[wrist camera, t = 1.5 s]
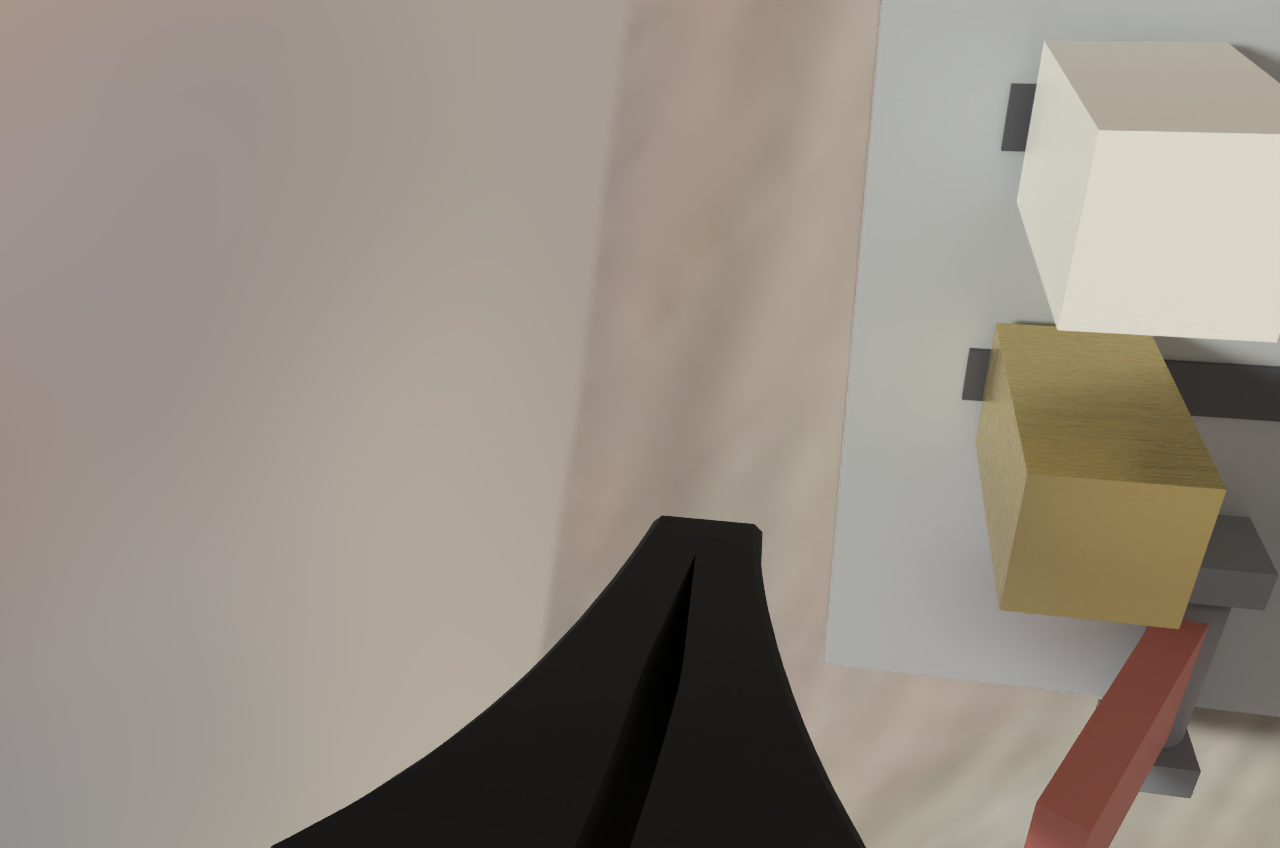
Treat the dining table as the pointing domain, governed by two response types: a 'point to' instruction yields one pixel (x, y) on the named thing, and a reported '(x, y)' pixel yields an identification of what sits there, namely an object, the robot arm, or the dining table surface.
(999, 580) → the brass slider
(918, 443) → the panel
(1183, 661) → the red paddle
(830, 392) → the dining table surface
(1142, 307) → the white slider
